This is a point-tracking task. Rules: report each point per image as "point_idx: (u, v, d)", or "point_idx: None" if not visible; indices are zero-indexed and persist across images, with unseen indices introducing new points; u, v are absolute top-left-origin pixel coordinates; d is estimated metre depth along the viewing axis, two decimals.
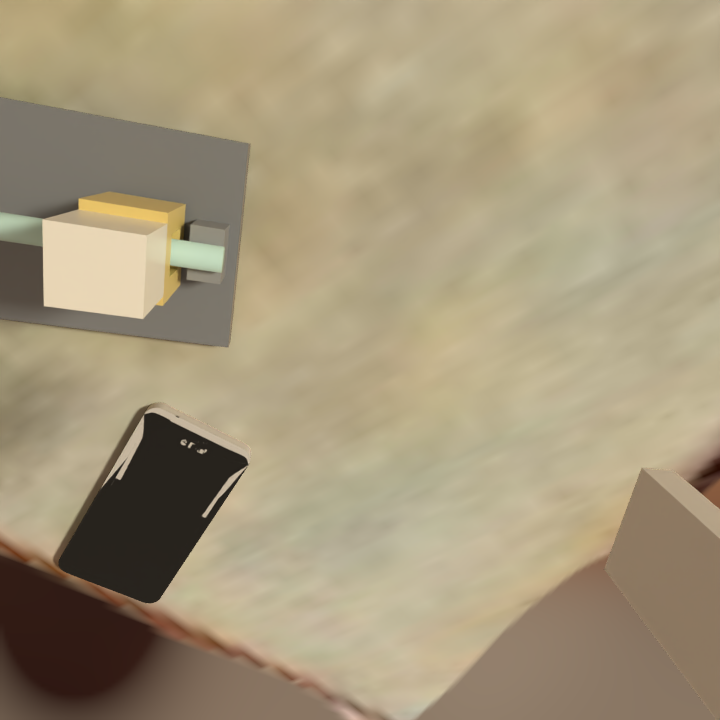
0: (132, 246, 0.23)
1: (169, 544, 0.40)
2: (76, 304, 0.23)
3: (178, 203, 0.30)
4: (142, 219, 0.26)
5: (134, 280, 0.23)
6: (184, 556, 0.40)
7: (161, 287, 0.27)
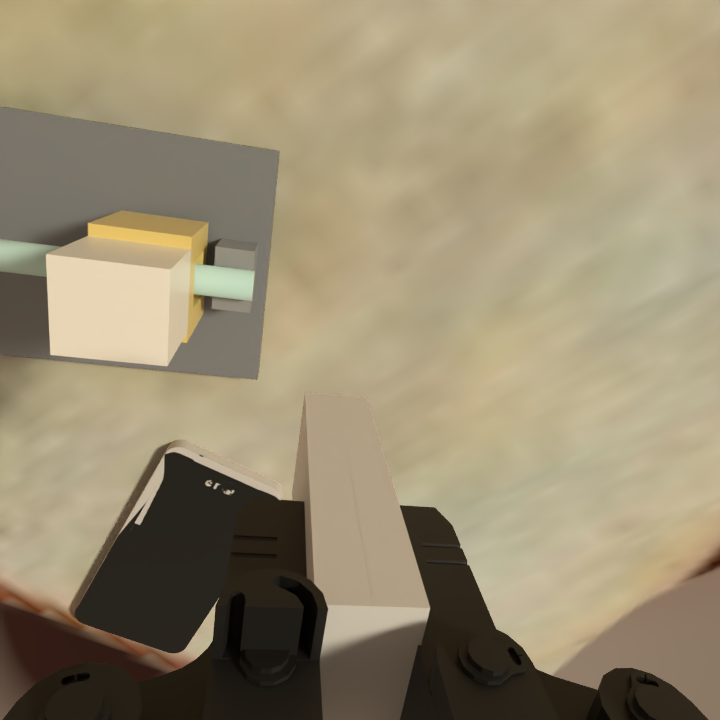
0: (153, 282, 0.19)
1: (194, 591, 0.36)
2: (88, 351, 0.20)
3: (200, 222, 0.26)
4: (162, 245, 0.22)
5: (156, 322, 0.20)
6: (211, 603, 0.37)
7: (185, 323, 0.23)
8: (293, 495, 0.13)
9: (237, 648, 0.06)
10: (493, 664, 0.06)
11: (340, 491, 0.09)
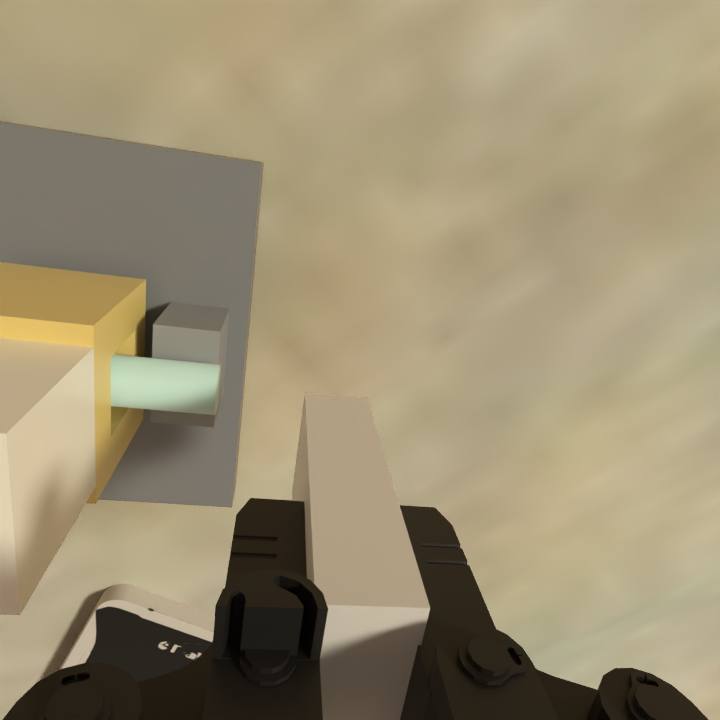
0: None
1: None
2: None
3: (131, 279, 0.16)
4: (37, 342, 0.12)
5: None
6: None
7: (87, 477, 0.13)
8: (293, 495, 0.13)
9: (237, 648, 0.06)
10: (493, 664, 0.06)
11: (340, 491, 0.09)
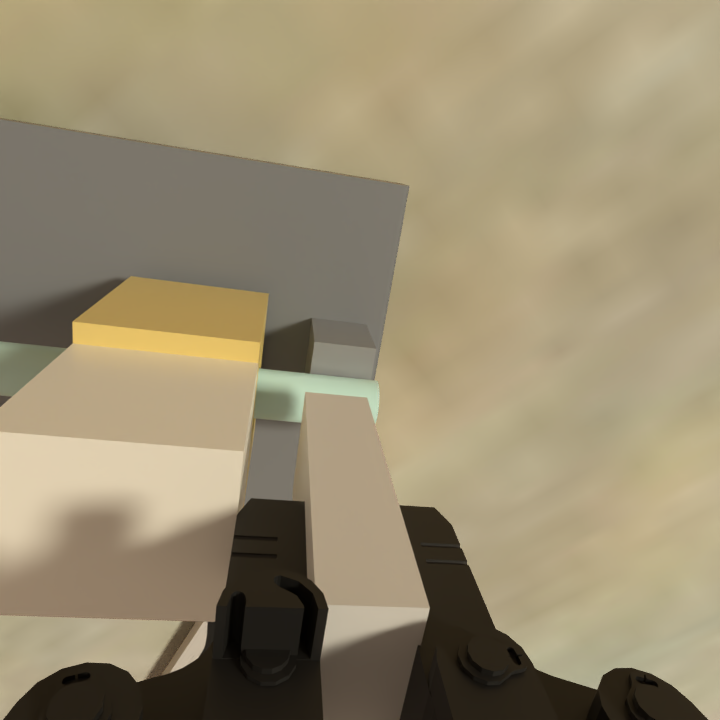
0: (205, 475, 0.09)
1: None
2: (69, 606, 0.10)
3: (257, 294, 0.16)
4: (207, 358, 0.12)
5: (209, 548, 0.10)
6: None
7: None
8: (293, 495, 0.13)
9: (237, 648, 0.06)
10: (493, 664, 0.06)
11: (340, 491, 0.09)
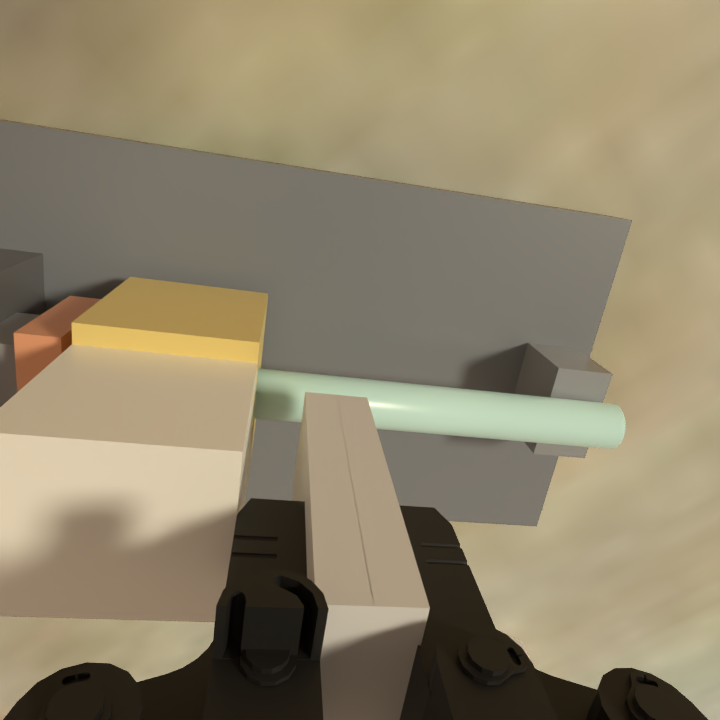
0: (205, 476, 0.09)
1: None
2: (68, 606, 0.10)
3: (256, 294, 0.16)
4: (206, 359, 0.12)
5: (209, 548, 0.10)
6: None
7: None
8: (293, 495, 0.13)
9: (237, 648, 0.06)
10: (493, 664, 0.06)
11: (340, 491, 0.09)
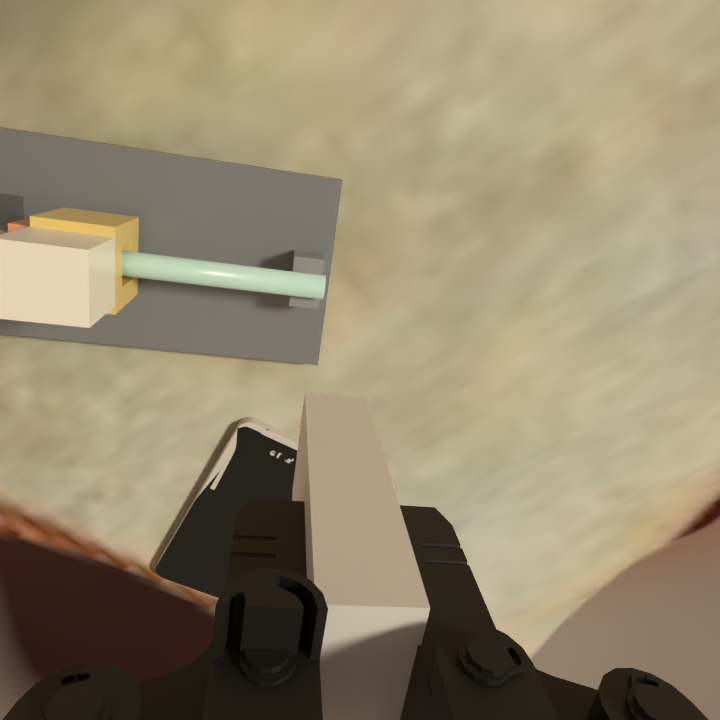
0: (74, 260, 0.24)
1: None
2: (25, 316, 0.25)
3: (131, 216, 0.32)
4: (91, 233, 0.28)
5: (79, 292, 0.25)
6: None
7: (112, 297, 0.28)
8: (293, 495, 0.13)
9: (237, 648, 0.06)
10: (493, 664, 0.06)
11: (340, 491, 0.09)
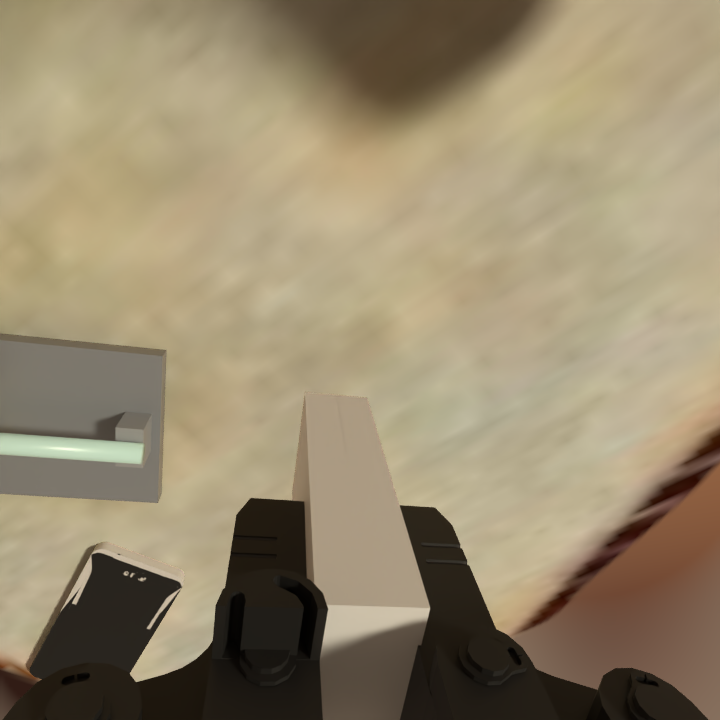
0: None
1: (121, 651, 0.47)
2: None
3: None
4: None
5: None
6: (134, 659, 0.48)
7: None
8: (293, 495, 0.13)
9: (237, 648, 0.06)
10: (493, 664, 0.06)
11: (340, 491, 0.09)
